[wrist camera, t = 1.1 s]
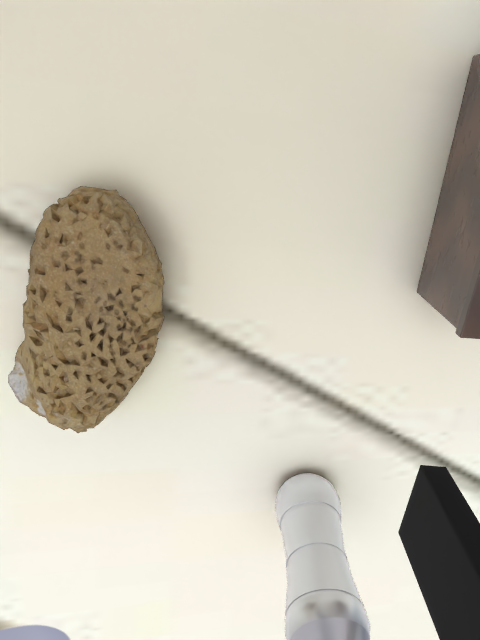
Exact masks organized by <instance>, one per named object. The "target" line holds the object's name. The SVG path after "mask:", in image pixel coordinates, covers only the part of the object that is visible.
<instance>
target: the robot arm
mask: <svg viewBox="0 0 480 640" xmlns="http://www.w3.org/2000/svg"><path fill="white" fill-rule="evenodd" d="M399 535H400V538H401V540H402V543H403V545H404V548H405V551H406V553H407V556H408V558H409V561H410V564H411V566H412V569H413V571H414V574H415V577H416V579H417V582H418V584H419V587H420V589H421V592H422V595H423V597H424V600H425V602H426V605H427V608H428V610H429V613H430V615H431V618H432V621H433V623H434V626H435V628H436V631H437V633H438V636H439V639H440V640H480V523H479V521H478V520H477V518H476V516H475V515H474V513H473V511H472V510H471V508H470V506H469V505H468V503H467V501H466V500H465V498H464V496H463V495H462V493H461V492H460V490H459V488H458V487H457V485H456V483H455V482H454V480H453V478H452V477H451V475H450V473H449V472H448V470H447V468H446V467H437V466H425V465H420V468H419V471H418V474H417V477H416V480H415V483H414V486H413V490H412V493H411V496H410V499H409V502H408V505H407V508H406V511H405V514H404V517H403V520H402V523H401V526H400V529H399Z"/></svg>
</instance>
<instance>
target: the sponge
mask: <svg viewBox="0 0 480 640" xmlns="http://www.w3.org/2000/svg"><path fill="white" fill-rule="evenodd" d="M58 203H59V204H53V205H51V206H49V207H48V208H47V209H46V210H45V211H44V213H43V219H42V221H41V222H40V224H39V226H38V228H37V230H36V232H35V235H36V239H35V241H34V243H33V245H32V247H31V252H30V269H28V272H29V284H28V285H27V301H26V302H25V303H24V304H23V327H24V330H25V340H24V341H23V342H22V344H21V345H20V347H19V348H18V351H17V353H16V357H15V367H14V370H13V371H11V373H10V374H9V377H8V383H9V385H10V387H11V388H12V390H13V392H14V394H15V396H16V398H17V399H18V400H19V402H20V403H22V404H24V405H26V406H28V407H29V408H30V409H31V410H32V411H33V412H35V413H36V414H38V415H40V416H43V417H45V418H46V419H47V420H48V422H49V423H51V424H53V425H56V426H57V427H59V428H61V429H63V430H65V429H68V428H71V429H72V430H74V431H76V432H77V433H79V432H86V431H87V429H88V428H94V427H95V426H96V425H98V424H99V423H100V422H101V421H103V420H104V418H105V417H106V416H107V415H108V414H110V413H111V412H112V411H113V410H115V408H116V407H117V406H118V405H119V404H120V403H121V402H122V401H123V400H124V399H125V397H126V396H127V395H128V392H129V391H130V389H131V388H132V387H133V385H134V384H135V383H136V382H137V380H138V379H139V378H140V376H141V375H142V373H143V372H144V369H145V366H146V367H147V366H148V365H149V364H150V362H151V361H152V359H153V357H154V355H155V348H156V345H157V340H158V339H159V338H157V334H158V332H159V331H160V329H161V326H162V323H163V320H164V316H163V314H162V311H163V309H162V292H163V285H164V280H163V274H162V271H161V265H162V263H161V262H160V260H159V259H158V257H157V254H156V251H155V247H154V246H153V245H152V243H151V241H150V239H149V238H148V236H147V233H146V231H145V228H144V227H143V225H142V224H141V223H140V221H139V218H138V216H137V214H136V212H135V211H134V209H133V208H132V207H131V206H130V204H129V203H128V202H127V201H126V200H125V199H124V198H122V197H121V196H119V194H118V192H117V191H116V190H104V189H99V188H92V187H83V186H80V187H78V188H76V189H74V190H73V191H72V192H71V193H70V194H69V195H68V197H65V198H62V199H60V198H59V199H58Z"/></svg>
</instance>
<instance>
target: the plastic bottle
mask: <svg viewBox="0 0 480 640" xmlns="http://www.w3.org/2000/svg"><path fill="white" fill-rule="evenodd" d="M275 512H276V516H277V520H278V524H279V527H280V529H281V532H282V538H283V543H284V549H285V554H286V568H287V594H286V611H285V636H286V639H287V640H370V623H369V619H368V616H367V613H366V610H365V608H364V605H363V602H362V600H361V597H360V595H359V592H358V590H357V587H356V585H355V582H354V580H353V577H352V574H351V570H350V567H349V563H348V561H347V556H346V553H345V549H344V542H343V534H342V527H341V503H340V499H339V496H338V494H337V492H336V490H335V488H334V487H333V485H332V484H331V483H330V482H329V481H328V480H326V479H325V478H323V477H321V476H319V475H317V474H312V473H302V474H298V475H295V476H293V477H291V478H289V479H288V480H287V481H286V482H285V483H284V484H283V485H282V486H281V487H280V489H279V491H278V493H277V497H276V505H275Z"/></svg>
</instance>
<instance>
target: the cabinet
mask: <svg viewBox="0 0 480 640" xmlns="http://www.w3.org/2000/svg"><path fill="white" fill-rule="evenodd" d="M417 293H418V294H420V295H421V296H422V297H423V298H424V299H425V300H426V301H427V302H428V303H429V304H431V305H432V306H433V307H434V308H435V309H436V310H437V311H438V312H439V313H440V314H441V315H443V316H444V317H445V318H446V319H447V320H448V321H449V322H450V323H451V324H452V325H454V326H455V327H456V328H457V329H456V334H457V335H458V336H459V337H461V338H475V339H480V54H478V55H475V56H473V60H472V64H471V68H470V72H469V77H468V81H467V85H466V89H465V93H464V97H463V102H462V106H461V110H460V114H459V118H458V122H457V127H456V131H455V135H454V139H453V143H452V147H451V152H450V156H449V160H448V164H447V168H446V172H445V177H444V181H443V185H442V189H441V193H440V197H439V202H438V206H437V210H436V214H435V218H434V222H433V227H432V231H431V235H430V239H429V243H428V247H427V252H426V256H425V260H424V264H423V268H422V272H421V277H420V281H419V285H418V289H417Z"/></svg>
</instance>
